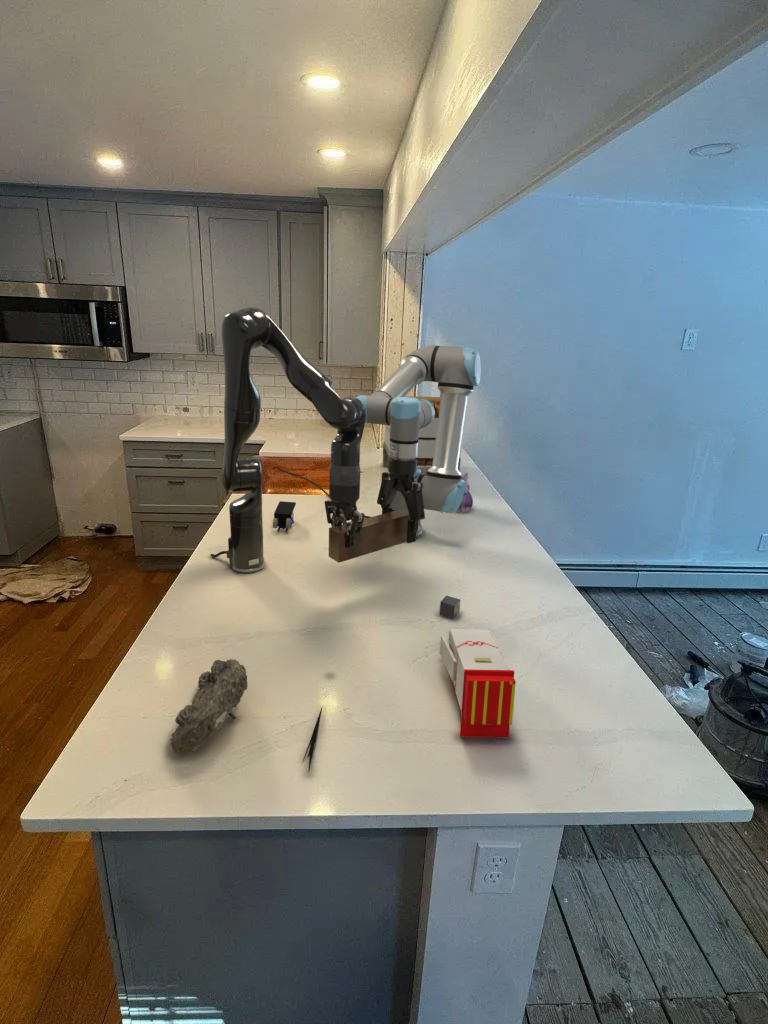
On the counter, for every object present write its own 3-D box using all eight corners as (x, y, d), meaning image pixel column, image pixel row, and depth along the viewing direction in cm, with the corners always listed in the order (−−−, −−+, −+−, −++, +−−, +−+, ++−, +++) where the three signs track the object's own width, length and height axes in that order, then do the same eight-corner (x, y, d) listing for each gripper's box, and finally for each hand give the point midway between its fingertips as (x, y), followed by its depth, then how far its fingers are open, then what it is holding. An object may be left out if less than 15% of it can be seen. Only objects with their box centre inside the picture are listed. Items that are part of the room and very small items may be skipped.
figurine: (459, 514, 221) (463, 477, 216) (445, 506, 229) (448, 470, 224) (479, 511, 225) (483, 475, 220) (464, 503, 234) (467, 468, 228)
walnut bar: (339, 562, 142) (339, 533, 139) (328, 556, 145) (328, 527, 143) (414, 539, 158) (415, 512, 156) (403, 534, 162) (404, 508, 159)
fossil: (195, 660, 117) (247, 628, 112) (227, 691, 120) (279, 661, 115) (146, 746, 98) (206, 711, 93) (185, 779, 101) (245, 748, 96)
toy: (489, 613, 130) (525, 677, 101) (485, 667, 133) (518, 744, 104) (437, 612, 130) (457, 676, 101) (434, 666, 133) (453, 743, 103)
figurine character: (291, 538, 195) (297, 518, 208) (291, 518, 192) (296, 500, 205) (272, 537, 195) (278, 518, 208) (271, 518, 191) (277, 499, 205)
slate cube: (439, 615, 148) (440, 601, 147) (445, 608, 151) (446, 595, 150) (453, 619, 146) (454, 605, 145) (459, 612, 149) (460, 599, 148)
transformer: (381, 463, 289) (385, 382, 275) (444, 464, 292) (450, 384, 279) (389, 482, 257) (393, 392, 243) (459, 483, 261) (467, 394, 247)
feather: (331, 679, 122) (336, 673, 122) (307, 777, 96) (313, 769, 95) (324, 675, 122) (329, 669, 121) (298, 772, 95) (304, 764, 95)
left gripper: (315, 475, 141) (315, 538, 147) (350, 490, 131) (348, 557, 137) (339, 471, 146) (338, 532, 152) (375, 485, 136) (372, 550, 142)
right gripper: (365, 450, 155) (363, 526, 162) (422, 469, 139) (416, 552, 147) (386, 447, 159) (382, 521, 167) (443, 464, 144) (436, 545, 151)
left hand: (343, 544), depth 144 cm, fingers closed on walnut bar, 4 cm apart
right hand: (398, 535), depth 157 cm, fingers open, 9 cm apart
